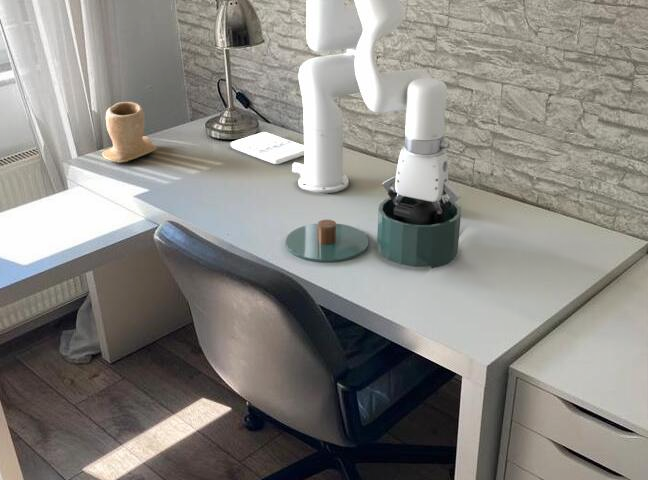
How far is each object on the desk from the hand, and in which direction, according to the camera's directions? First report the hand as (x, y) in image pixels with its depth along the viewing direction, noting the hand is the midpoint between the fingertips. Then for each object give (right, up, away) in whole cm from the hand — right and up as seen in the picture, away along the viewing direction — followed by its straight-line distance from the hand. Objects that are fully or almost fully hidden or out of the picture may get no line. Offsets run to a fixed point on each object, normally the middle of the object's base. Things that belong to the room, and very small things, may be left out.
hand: (418, 224), depth 166 cm
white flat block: (-34, +26, +57) cm, 71 cm away
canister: (0, -5, +3) cm, 6 cm away
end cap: (0, -1, +1) cm, 2 cm away
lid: (-19, -3, +5) cm, 20 cm away
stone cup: (-72, +24, +54) cm, 93 cm away
